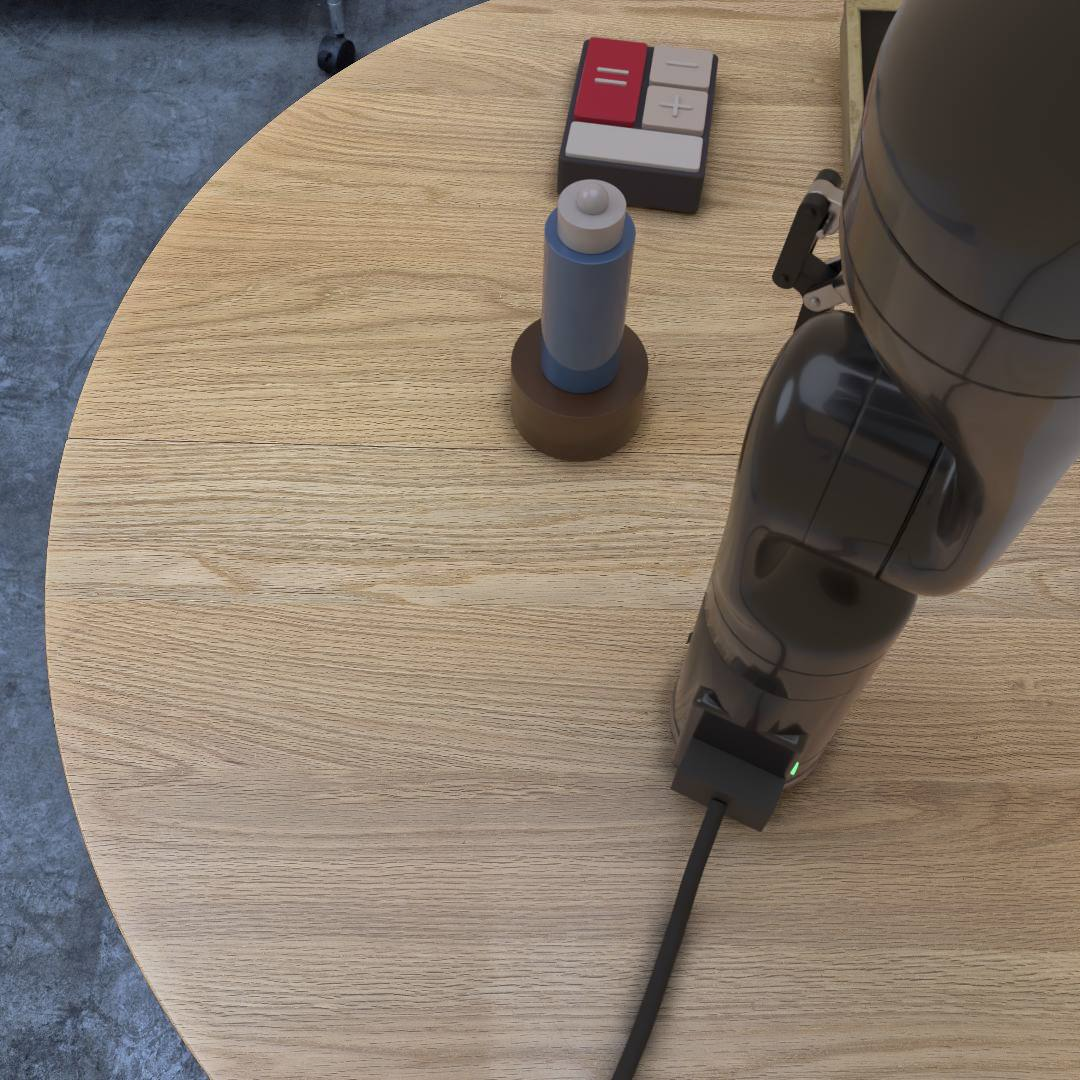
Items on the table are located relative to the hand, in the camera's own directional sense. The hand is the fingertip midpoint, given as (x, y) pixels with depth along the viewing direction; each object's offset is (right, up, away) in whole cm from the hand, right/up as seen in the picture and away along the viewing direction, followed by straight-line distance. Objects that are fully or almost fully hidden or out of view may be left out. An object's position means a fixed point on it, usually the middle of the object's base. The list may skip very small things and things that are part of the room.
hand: (888, 376), depth 63 cm
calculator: (-10, +23, +34) cm, 42 cm away
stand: (-16, +1, +20) cm, 26 cm away
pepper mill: (-16, +3, +16) cm, 22 cm away
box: (+9, +22, +34) cm, 41 cm away
